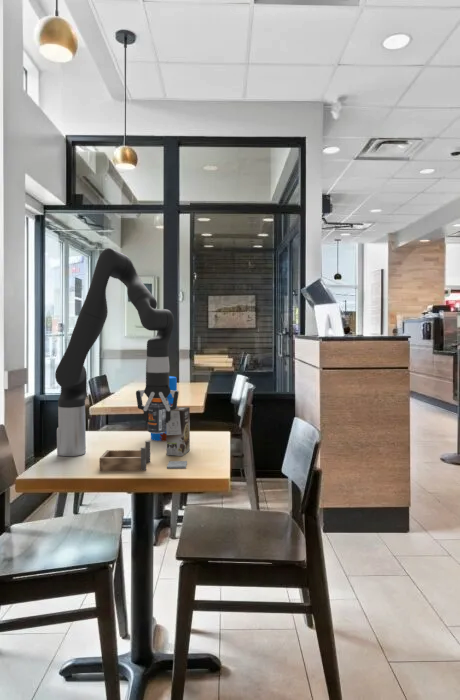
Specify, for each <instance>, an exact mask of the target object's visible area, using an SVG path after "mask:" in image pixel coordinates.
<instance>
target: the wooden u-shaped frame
mask: <svg viewBox="0 0 460 700" xmlns="http://www.w3.org/2000/svg"><path fill="white" fill-rule="evenodd" d="M144 445H145V446H144V447H140V449H115V450H114V449H109V450H108V449H107V450H105V452H104V453H102V455H101V456H100V457H99V459H98V460H99V461H98V462H99V471H101V472H103V471H104V472H105V471H107V472H108V471H109V472H110V471H112V472H113V471H114V472H116V471H121V470H129V471H146V470H147V463H151V441H150V440H146V441H145V442H144Z"/></svg>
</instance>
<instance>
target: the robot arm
mask: <svg viewBox="0 0 460 700" xmlns="http://www.w3.org/2000/svg"><path fill="white" fill-rule="evenodd" d="M110 278H112V279H116V280H118V281H120V282H121V283H123V284H124V286H125V287H126V289H127V290H126V291H127V296H128V299H129V301H130V303H131V304H132V305H133V306H134V308H135V309H136V310H137V314H138V316H139V319H140V323H141V325H142V327H143V328H144V329H145V330H147V331H151V332H153V331H157V334H156V336H155V337H151V338H149V339H148V340H147V341H146V361H145V388H144V389H141V390H140V389H138V390H136V391H135V396H136V404H137V408H138V409H139V410H142V411H143V421H145V423H146V424H148V407H149V405H150V404H151V401H152V399H153V398H161V400H162V402H163V404H164V405H165V407H166V410H167V411H166V423H168V422H169V421H170V419H171V410H174V409H176V407H178V401H179V393H180V391H179V390H178V389H177V390H176V391H173V390H170V388H169V376H170V359H169V354H170V353H169V352H170V351H169V344H170V342H171V341H170V340H171V338H172V333H173V329H174V325H175V318H174V314H173V313H172V311H171V310H169V309H167V308H166V309H165V308H157V306H158V302H157V300H156V297H155V296H154V295H153V294H152V292H150V290H149V289H148V287H146V285H145V283H143V281H142V279H141V277H140V275H139V274H138V272H137V269H136V267H135V265H134V263H133V261H132V260H131V258H130V257H129V256H128V255H126V254H125V253H122V252H120V251H118V250H117V249H116V250H115V249H114V248H111V247H107V248H105V249H104V250H102V251H101V253H100V254H99V255H98V259H97V261H96V264H95V268H94V271H93V275H92V279H91V282H90V285H89V287H88V291H87V294H86V296H85V300H84V302H83V305H82V307H81V308H80V311H79V313H78V316H77V319H76V323H75V325H74V327H73V331H72V333H71V335H70V336H71V337H70V339H69V342H68V345H67V347H66V349H65V352H64V353H63V356H62V358H61V359H60V362H59V363H58V365H57V367H56V370H55V372H54V373H55V375H54V377H55V382H56V383H57V384H58V386H60V394H59V397H58V399H57V403H58V404H57V407H58V408H57V409H58V410H57V411H58V414H57V415H58V416H57V417H58V419H57V420H58V427H57V428H56V455H57V456H61V457H78V456H81V455H82V456H83V455H84V454H86V452H87V450H86V449H87V446H86V443H87V442H86V441H87V440H86V439H87V437H86V399H87V390H88V389H87V385H88V383H87V382H88V381H87V379H88V378H87V374H88V373H87V370H86V367H85V362H86V359H87V356H88V354H89V352H90V350H91V349H92V347H93V346H94V345H95V343H96V341H97V340H98V338H99V336H100V335H101V332H102V331H103V328H104V326H105V323H106V321H107V317H108V301H107V295H106V293H107V291H106V290H107V287H108V283H109V280H110ZM170 393H171V394H172V397H174V399H173V406H170V405H169V402H168V400H167V397H168V395H169V394H170ZM144 394H145V396H146V397H147V400H146V403H145V405H143V398H142V397H143V396H144Z"/></svg>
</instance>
